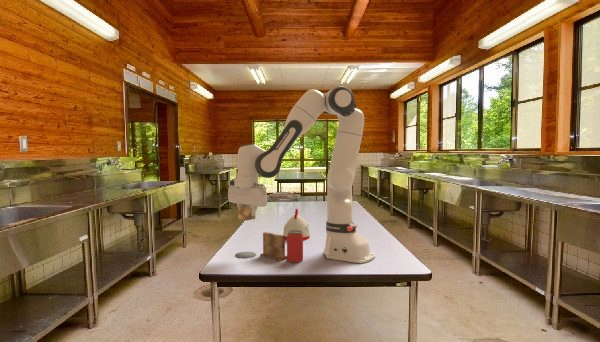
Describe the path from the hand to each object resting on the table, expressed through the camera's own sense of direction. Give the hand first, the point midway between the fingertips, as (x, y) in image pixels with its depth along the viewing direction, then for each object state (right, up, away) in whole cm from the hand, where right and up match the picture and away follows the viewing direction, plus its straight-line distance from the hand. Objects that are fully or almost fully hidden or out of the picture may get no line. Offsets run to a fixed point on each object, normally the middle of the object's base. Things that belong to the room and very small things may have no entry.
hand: (247, 215), depth 143 cm
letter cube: (0, -2, 0) cm, 2 cm away
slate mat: (-1, -18, +3) cm, 18 cm away
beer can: (+20, -18, -4) cm, 28 cm away
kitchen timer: (+21, -17, +34) cm, 43 cm away
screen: (+11, -18, 0) cm, 21 cm away
